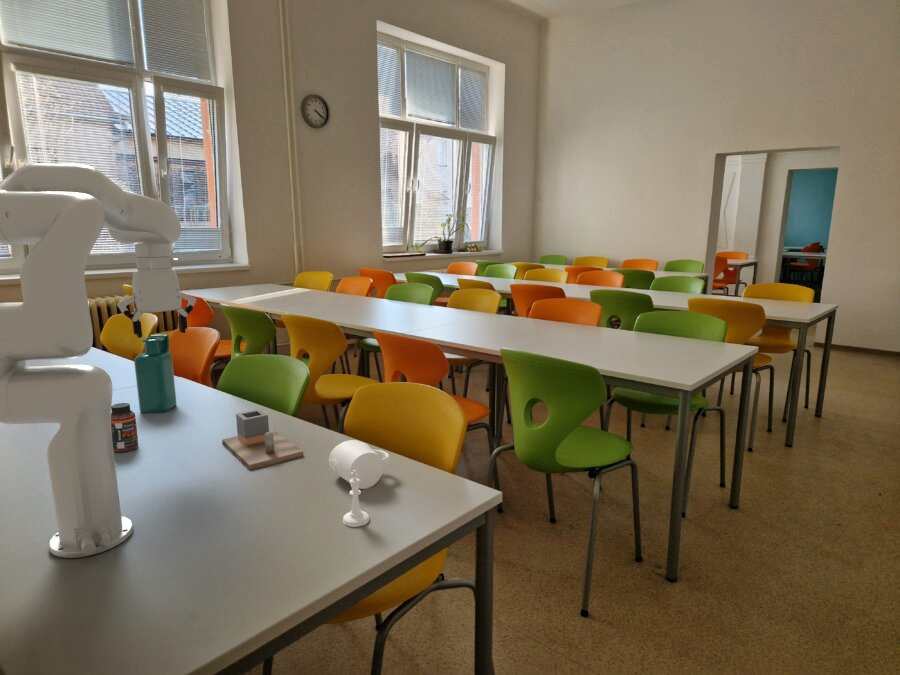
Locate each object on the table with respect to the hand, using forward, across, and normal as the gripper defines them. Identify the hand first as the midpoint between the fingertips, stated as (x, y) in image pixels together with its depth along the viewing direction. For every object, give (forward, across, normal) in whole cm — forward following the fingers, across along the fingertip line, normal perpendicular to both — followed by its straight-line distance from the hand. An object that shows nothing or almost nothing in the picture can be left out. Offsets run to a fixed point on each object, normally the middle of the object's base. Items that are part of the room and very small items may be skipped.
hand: (161, 334), depth 140 cm
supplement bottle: (+28, +10, -4) cm, 30 cm away
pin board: (+28, -16, +18) cm, 37 cm away
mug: (+29, -28, +48) cm, 62 cm away
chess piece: (+28, -18, +63) cm, 71 cm away
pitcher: (+28, -4, -34) cm, 45 cm away
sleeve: (+27, -16, +12) cm, 34 cm away
